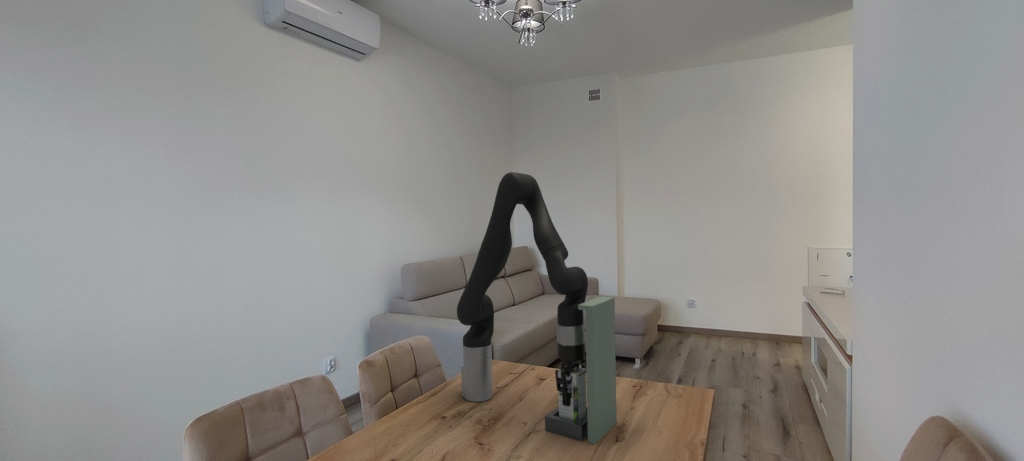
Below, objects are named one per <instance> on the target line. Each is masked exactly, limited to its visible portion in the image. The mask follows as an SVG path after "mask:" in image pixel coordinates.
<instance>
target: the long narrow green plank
mask: <svg viewBox="0 0 1024 461" xmlns="http://www.w3.org/2000/svg"><path fill="white" fill-rule="evenodd" d="M615 302H616V301H615V297H613V296H612V297H611V296H610V297H609V296H602V295H601V296H599V297H596V298H593V299H591V300H588V301H585V303H582V304H579V305H578V310H583V311H585V312H584V313H585V358H586V370H587V372H586V407H587V420H588V436H587V443H590V444H594V445H596V444H597V443H598V442H599V441H600V440H601V439H603V437H604V436H605V435H606V434H607V433H608V432H610V430H612V428H614V427H615V426H616V424H617V421H618V420H617V419H618V418H617V373H616V372H617V368H616V367H617V365H616V362H617V360H616V321H615V320H616V314H615V312H616V308H615Z"/></svg>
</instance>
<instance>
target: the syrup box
mask: <svg viewBox="0 0 1024 461" xmlns="http://www.w3.org/2000/svg"><path fill="white" fill-rule="evenodd" d="M586 370H587V368H586V369H584V368H581V369H577V371H576V372H575V373H572V372H571V375H570V377H566V380H570V378H571V376H572V377H573V383H572V384H571V390H570V392H571V405H570V406H564V405H563V404H562V392H560V391H558V406H559V417H561V418H564V419H568V420H572V421H576V422H580V421H581V420H582V419H584V418H585V417H586V407H587V372H586ZM560 386H561V384H560ZM567 387H568V383H567Z"/></svg>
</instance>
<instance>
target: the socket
mask: <svg viewBox="0 0 1024 461" xmlns="http://www.w3.org/2000/svg"><path fill="white" fill-rule="evenodd" d="M544 429H545V430H544V431H545V432H548V433H552V434H556V435H559V436H562V437H566V438H569V439H573V440H576V441H580V442H583V441H584V440H585V439H586V438H588V420H587V406H586V417H585V418H584V419H582V420H581V421H580V422H576V421H572V420H568V419H564V418H561V417H559V405H558V406H557V407H556V408H554V409H552V410H551V411H550V412H547V414H546V415H544Z"/></svg>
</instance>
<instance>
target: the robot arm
mask: <svg viewBox="0 0 1024 461" xmlns="http://www.w3.org/2000/svg"><path fill="white" fill-rule="evenodd" d="M517 205H523V207H524V208H525V209H526V211H527V213H528V214H529V216H530V219H531V222H532V233H533V239H534V242H535V246H536V247H537V249H538V251H539V253H540V255H541V256H542V258H543V260H544V263H545V268H546V271H547V275H548V280H549V283H550V285H551V287H552V290H554V291H555V292H556V293H557V294H559V295H564V299H563V301H561V302H560V303H559V304H558V305H557V315H556V316H557V329H556V344H557V345H556V346H557V348H556V349H557V350H556V351H557V354H556V355H557V356H556V357H557V358H558V359H559V360H560V361H561V367H560V369H555V371H554V373H555V382H556V390H557V392H559V391H560V392H562V404H563V405H564V406H570V405H571V392H570V390H571V384H572V383H573V377H572V376H571V378H570V380H566V377H570V375H571V372H572V373H575V372H576V371H577V369H581V368H584V369H586V370H587V367H586V331H585V326H584V310H578V305H579V304H582V303H585V302H586V298H587V293H588V288H589V280H588V275H587V272H586V271H585V270H584V269H583V268H581V267H580V266H570V267H568V266H567V265H566V262H565V260H567V259H568V257H569V252H568V251H569V250H568V248H567V247H566V245H565V243H564V242H563V240H562V238H561V236H560V234H559V233H558V230H557V228H556V226H555V225H554V222H553V221H552V218H551V216H550V213H549V210H548V208H547V205H546V202H545V200H544V197H543V194H542V191H541V188H540V186H539V183H538V181H537V180H536V178H534V176H532V175H531V174H527V173H521V172H514V171H513V172H512V171H510V172H507V173H506V174H504V175H503V176H502V177H501V179H500V181H499V184H498V186H497V191H496V195H495V199H494V202H493V207H492V211H491V216H490V219H489V220H488V225H487V228H486V231H485V233H484V236H483V239H482V242H481V244H480V247H479V249H478V253H477V257H476V259H475V263H474V265H473V268H472V270H471V273H470V276H469V278H468V281H467V283H466V286H465V287H464V289H463V292H462V294H461V296H460V298H459V301H458V303H457V306H456V316H457V319H458V321H459V323H461V324H462V325H463V326H470V327H469V329H468V330H467V331H466V333H465V334H463V336H462V355H463V356H462V358H463V360H462V361H463V365H462V367H461V368H460V370H461V372H460V375H461V397H462V398H464V399H465V400H466V401H469V402H473V403H474V402H475V403H477V402H478V403H479V402H486V401H488V400H491V398H493V362H492V361H493V359H492V358H493V357H492V352H493V351H492V337H493V335H494V329H495V328H494V326H495V323H494V322H495V321H494V320H495V319H494V318H495V308H494V303H493V301H492V299H491V297H490V296H489V295H488V294H487V291H488V289H489V288H490V286H491V285H492V284H493V283H494V281H495V280H496V279H497V278H498V276H499V275H500V274H501V273H502V271H503V270H504V269H505V266H506V264H507V262H508V259H509V257H510V254H511V251H512V246H513V238H512V231H511V220H512V218H513V214H514V212H515V209H516V206H517ZM567 383H568V387H567ZM560 384H561V386H560Z"/></svg>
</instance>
